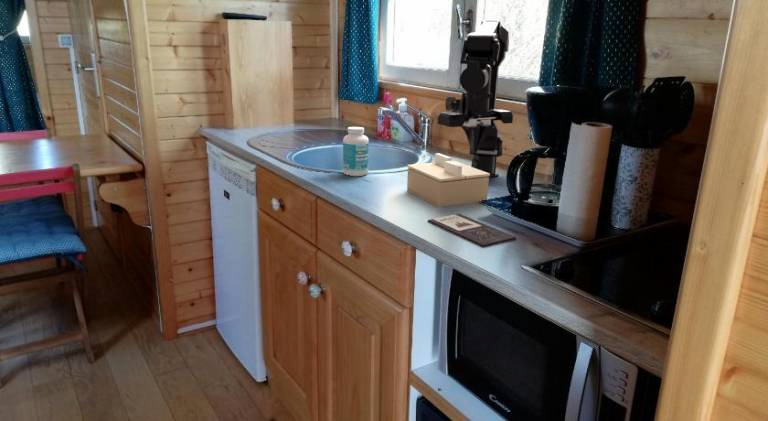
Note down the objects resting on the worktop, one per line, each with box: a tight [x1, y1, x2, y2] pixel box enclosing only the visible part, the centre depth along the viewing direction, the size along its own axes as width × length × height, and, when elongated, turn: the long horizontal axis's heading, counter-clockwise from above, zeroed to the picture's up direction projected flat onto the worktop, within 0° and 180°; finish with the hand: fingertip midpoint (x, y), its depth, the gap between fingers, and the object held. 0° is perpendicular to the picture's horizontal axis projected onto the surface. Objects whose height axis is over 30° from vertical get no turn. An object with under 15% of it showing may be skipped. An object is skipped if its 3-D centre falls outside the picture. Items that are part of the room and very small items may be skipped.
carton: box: [406, 167, 490, 208], centre depth 147 cm, size 14×16×6 cm
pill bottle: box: [342, 126, 370, 177], centre depth 167 cm, size 8×7×14 cm
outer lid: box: [406, 161, 465, 182], centre depth 144 cm, size 7×16×3 cm, turn 27°
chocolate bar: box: [427, 213, 517, 248], centre depth 123 cm, size 9×1×18 cm
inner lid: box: [431, 152, 490, 179], centre depth 148 cm, size 7×16×3 cm, turn 27°
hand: (473, 152), depth 143 cm, fingers closed
